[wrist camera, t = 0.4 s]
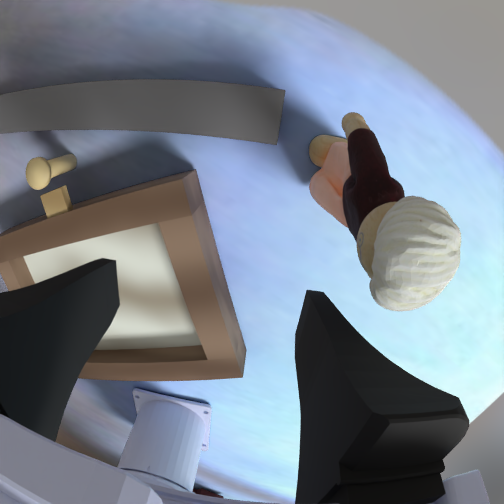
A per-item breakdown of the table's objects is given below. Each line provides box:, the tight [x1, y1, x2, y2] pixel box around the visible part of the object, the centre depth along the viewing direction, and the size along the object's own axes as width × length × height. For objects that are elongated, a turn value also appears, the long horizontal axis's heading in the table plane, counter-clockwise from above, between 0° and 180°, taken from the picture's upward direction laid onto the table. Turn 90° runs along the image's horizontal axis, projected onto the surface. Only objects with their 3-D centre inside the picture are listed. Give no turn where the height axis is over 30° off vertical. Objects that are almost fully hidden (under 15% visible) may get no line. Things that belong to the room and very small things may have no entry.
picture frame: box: [0, 169, 246, 381], centre depth 21 cm, size 16×18×3 cm
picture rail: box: [0, 79, 285, 190], centre depth 16 cm, size 6×28×4 cm, turn 82°
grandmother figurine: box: [309, 112, 461, 311], centre depth 12 cm, size 8×4×13 cm, turn 27°
